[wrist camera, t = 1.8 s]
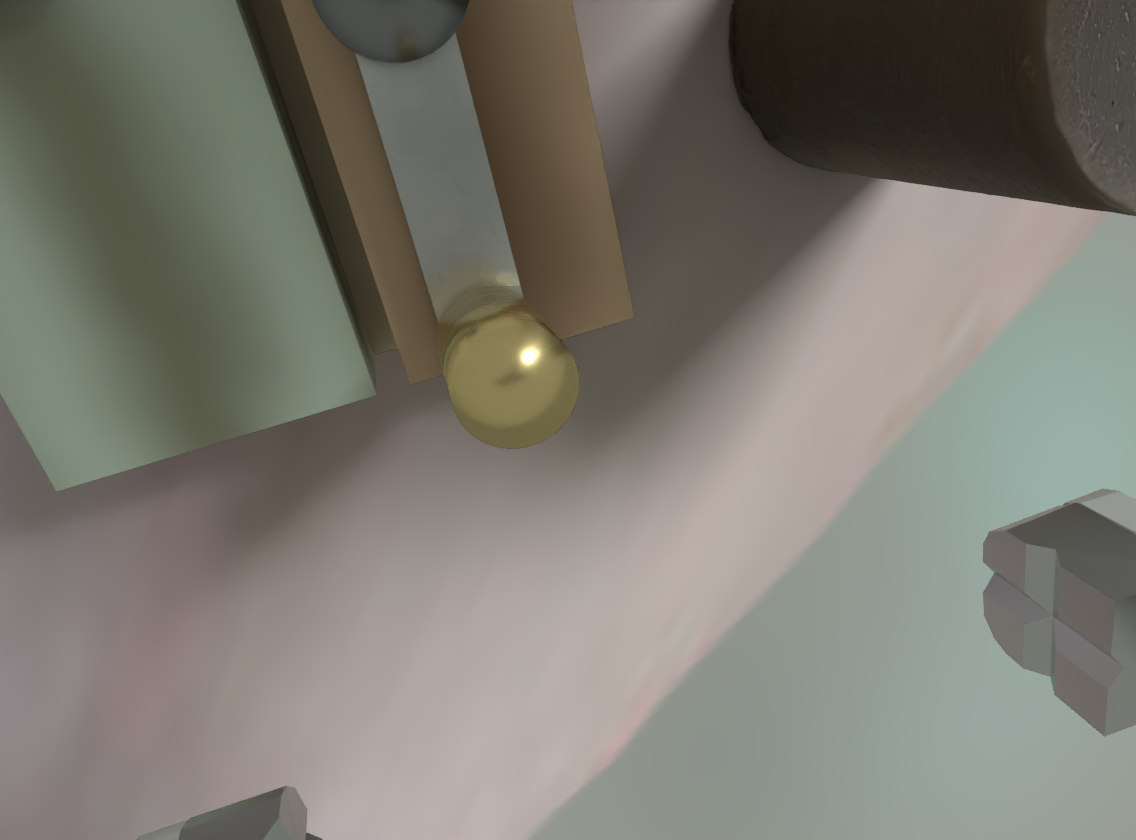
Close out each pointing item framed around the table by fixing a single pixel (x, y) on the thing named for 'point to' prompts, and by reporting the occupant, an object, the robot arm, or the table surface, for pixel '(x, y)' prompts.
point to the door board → (254, 217)
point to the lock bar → (456, 220)
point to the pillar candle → (949, 92)
